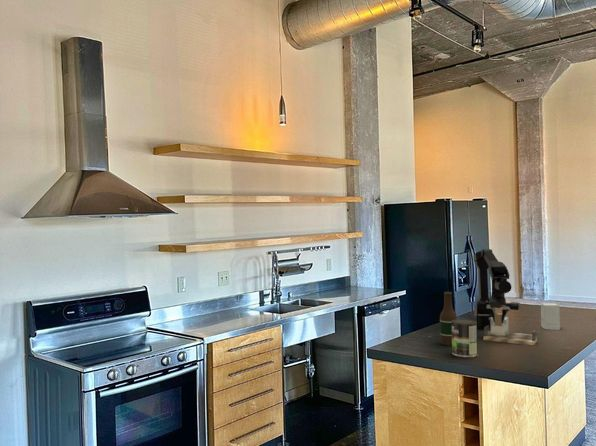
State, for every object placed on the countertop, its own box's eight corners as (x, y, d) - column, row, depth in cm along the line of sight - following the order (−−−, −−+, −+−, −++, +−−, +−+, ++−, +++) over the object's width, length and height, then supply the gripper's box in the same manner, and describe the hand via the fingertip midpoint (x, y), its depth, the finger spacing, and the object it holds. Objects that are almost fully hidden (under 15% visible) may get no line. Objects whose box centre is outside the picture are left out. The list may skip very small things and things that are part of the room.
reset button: (495, 320, 253) (495, 314, 253) (497, 319, 255) (496, 313, 255) (502, 320, 251) (502, 314, 251) (503, 319, 254) (503, 313, 254)
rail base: (483, 340, 241) (483, 328, 241) (488, 335, 249) (487, 324, 249) (533, 345, 229) (533, 333, 229) (537, 340, 237) (536, 329, 237)
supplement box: (560, 330, 260) (559, 305, 260) (544, 329, 261) (544, 305, 261) (556, 327, 267) (555, 303, 267) (540, 326, 268) (540, 302, 268)
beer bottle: (457, 342, 237) (456, 291, 237) (457, 346, 230) (456, 293, 230) (440, 341, 240) (439, 290, 240) (439, 345, 232) (438, 292, 232)
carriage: (490, 334, 241) (490, 315, 241) (493, 332, 246) (493, 313, 246) (504, 335, 238) (503, 316, 238) (506, 333, 243) (506, 314, 243)
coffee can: (457, 357, 211) (456, 324, 211) (448, 351, 221) (447, 319, 221) (481, 356, 211) (480, 323, 211) (471, 350, 222) (470, 318, 222)
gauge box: (490, 334, 252) (490, 318, 252) (493, 331, 258) (493, 316, 258) (505, 335, 249) (505, 319, 249) (508, 333, 254) (508, 317, 254)
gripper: (473, 291, 240) (474, 324, 240) (516, 293, 230) (516, 328, 230) (479, 288, 249) (479, 320, 249) (520, 290, 239) (520, 323, 239)
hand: (498, 322), depth 242 cm, fingers closed on carriage, 3 cm apart
